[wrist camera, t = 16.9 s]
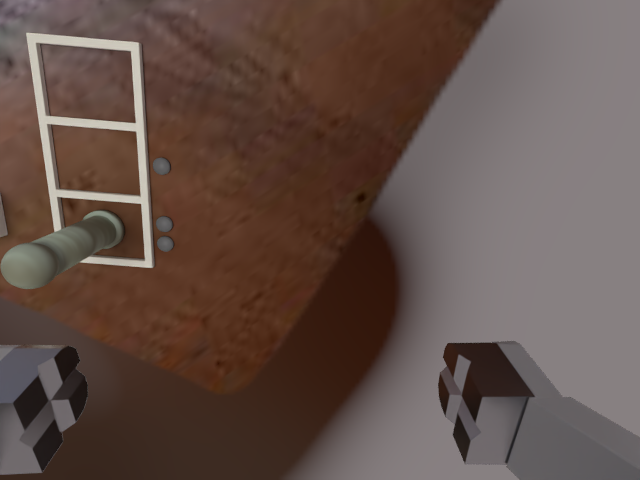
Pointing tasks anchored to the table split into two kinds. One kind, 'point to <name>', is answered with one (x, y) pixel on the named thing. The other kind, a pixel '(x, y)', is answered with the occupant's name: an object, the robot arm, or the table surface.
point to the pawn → (61, 250)
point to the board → (46, 120)
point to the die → (2, 221)
